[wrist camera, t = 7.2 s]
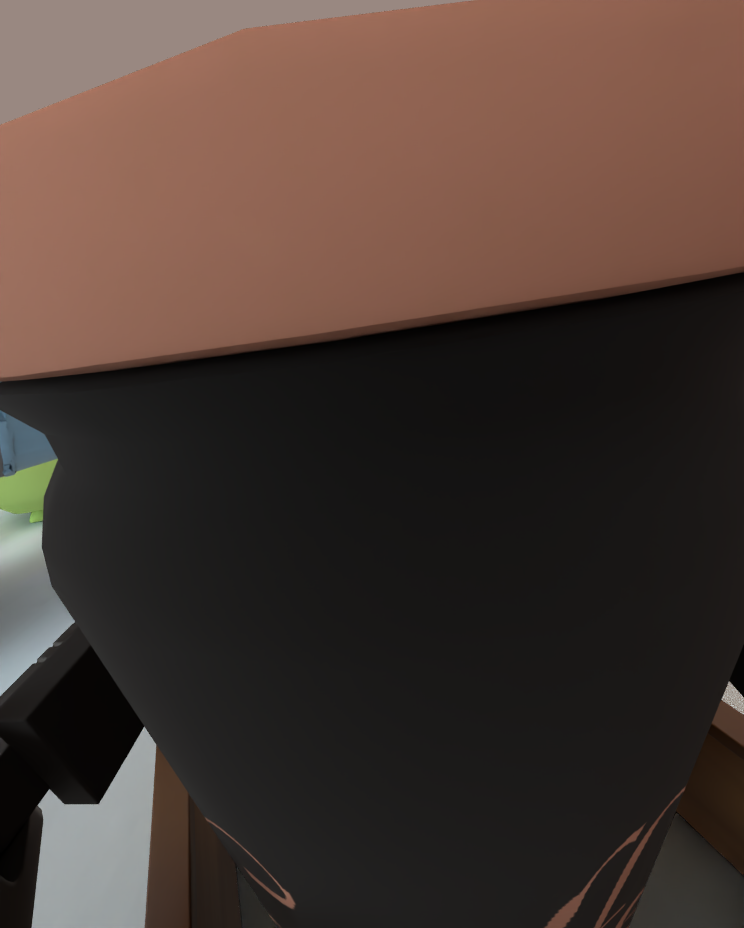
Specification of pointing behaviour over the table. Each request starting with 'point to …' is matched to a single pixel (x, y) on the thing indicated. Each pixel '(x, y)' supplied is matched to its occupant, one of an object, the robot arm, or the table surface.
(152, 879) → the wooden tray
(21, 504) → the teapot
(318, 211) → the coffee jar
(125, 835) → the table surface
